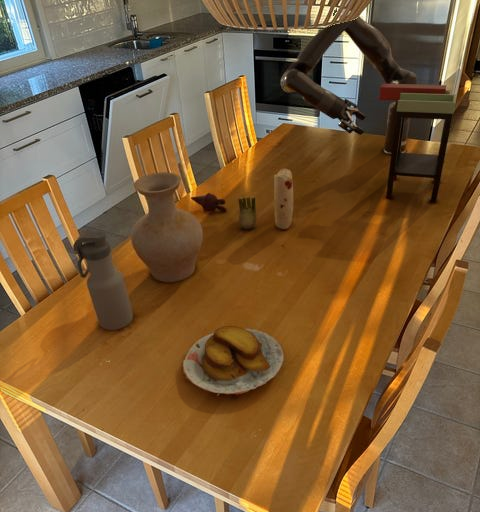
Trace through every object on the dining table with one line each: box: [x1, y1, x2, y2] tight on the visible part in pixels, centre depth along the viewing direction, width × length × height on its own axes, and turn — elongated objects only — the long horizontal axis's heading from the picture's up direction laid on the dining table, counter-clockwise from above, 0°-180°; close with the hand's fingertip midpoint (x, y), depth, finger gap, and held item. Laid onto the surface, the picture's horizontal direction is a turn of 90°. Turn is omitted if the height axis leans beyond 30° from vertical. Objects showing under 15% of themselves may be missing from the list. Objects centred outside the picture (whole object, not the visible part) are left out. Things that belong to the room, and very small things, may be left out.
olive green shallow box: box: [397, 93, 457, 115], centre depth 172 cm, size 9×18×4 cm, turn 70°
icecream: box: [190, 192, 228, 213], centre depth 193 cm, size 7×7×15 cm
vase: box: [130, 171, 204, 283], centre depth 155 cm, size 22×22×30 cm
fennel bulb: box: [237, 196, 258, 230], centre depth 178 cm, size 6×5×12 cm
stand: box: [385, 111, 454, 204], centre depth 187 cm, size 19×18×32 cm
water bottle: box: [72, 230, 134, 331], centre depth 137 cm, size 10×10×28 cm
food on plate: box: [182, 325, 286, 397], centre depth 126 cm, size 25×25×7 cm
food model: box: [273, 168, 294, 230], centre depth 176 cm, size 10×7×20 cm
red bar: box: [378, 83, 451, 102], centre depth 180 cm, size 4×24×4 cm, turn 70°
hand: (363, 125), depth 196 cm, fingers open, 8 cm apart
